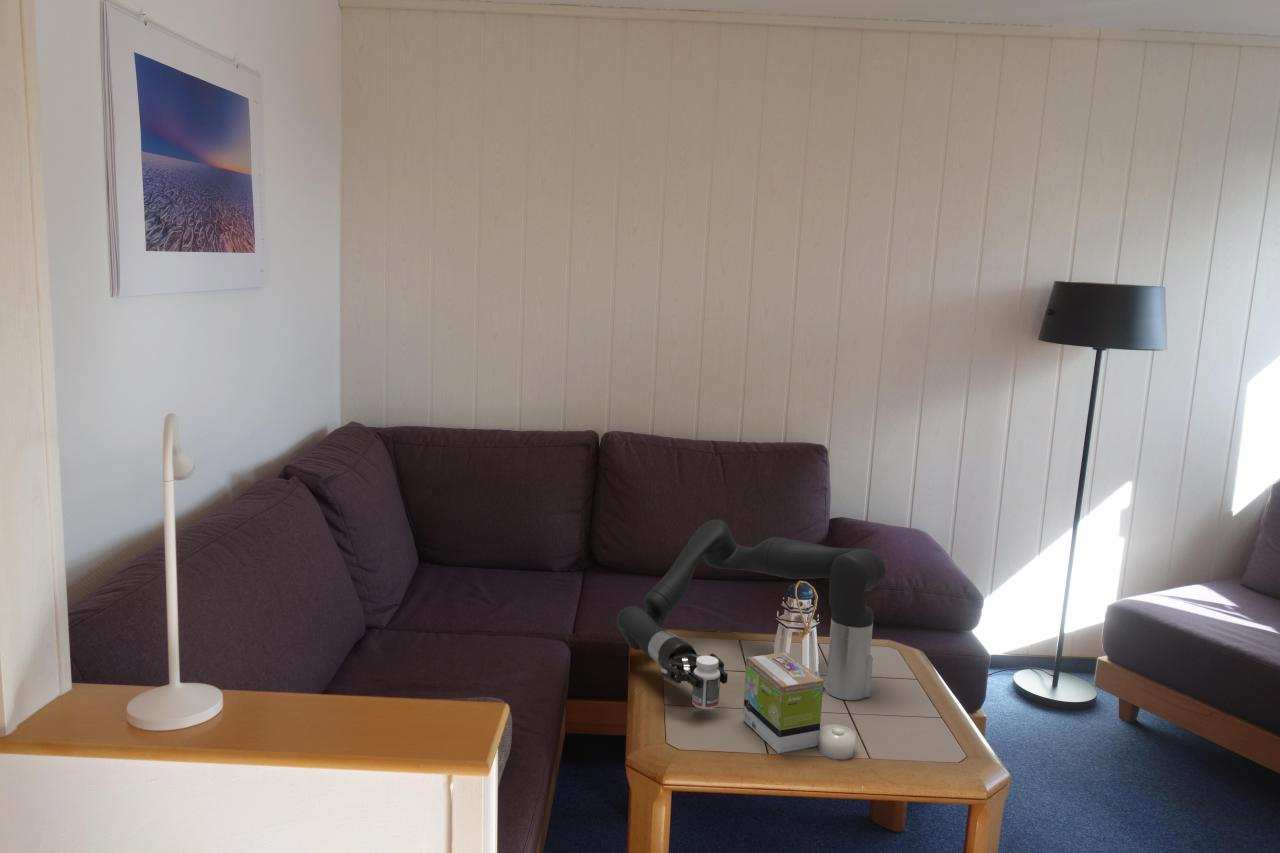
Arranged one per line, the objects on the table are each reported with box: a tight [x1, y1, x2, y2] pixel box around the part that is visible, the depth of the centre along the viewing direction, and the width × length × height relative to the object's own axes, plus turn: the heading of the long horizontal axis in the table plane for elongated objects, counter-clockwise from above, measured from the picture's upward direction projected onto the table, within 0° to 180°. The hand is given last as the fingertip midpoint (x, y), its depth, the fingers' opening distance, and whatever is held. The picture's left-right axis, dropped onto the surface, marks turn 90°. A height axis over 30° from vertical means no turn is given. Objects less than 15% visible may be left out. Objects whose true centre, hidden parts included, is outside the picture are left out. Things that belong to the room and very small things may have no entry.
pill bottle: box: [691, 655, 721, 710], centre depth 210 cm, size 6×6×10 cm
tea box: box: [742, 651, 824, 754], centre depth 203 cm, size 15×10×15 cm
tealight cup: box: [818, 723, 857, 761], centre depth 198 cm, size 7×7×5 cm
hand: (713, 681), depth 208 cm, fingers closed on pill bottle, 5 cm apart
